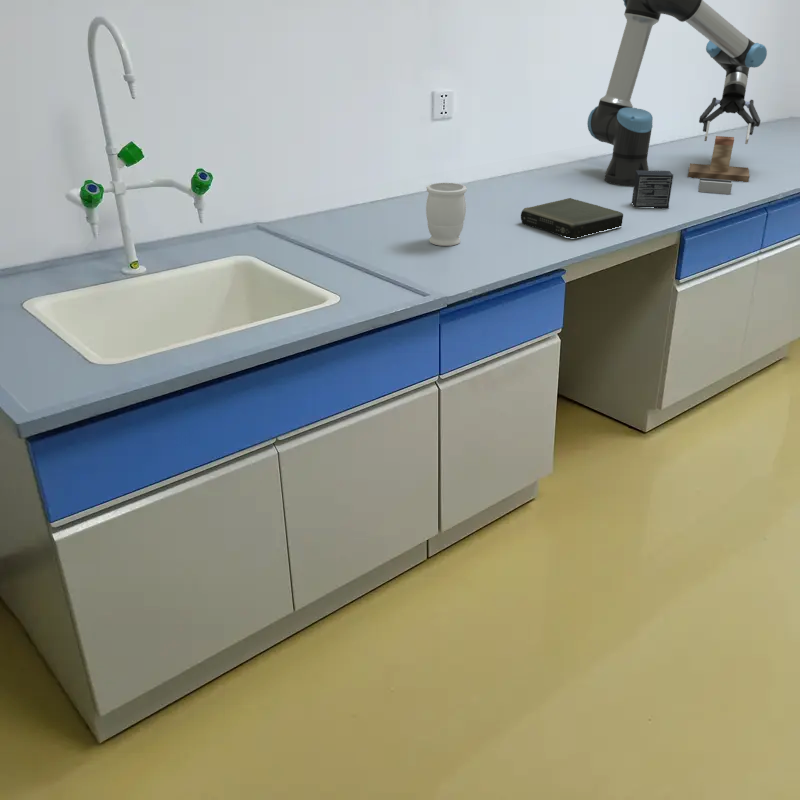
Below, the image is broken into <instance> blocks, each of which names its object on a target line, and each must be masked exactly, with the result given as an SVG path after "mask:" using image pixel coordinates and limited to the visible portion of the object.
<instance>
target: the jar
mask: <svg viewBox="0 0 800 800" xmlns="http://www.w3.org/2000/svg"><path fill="white" fill-rule="evenodd" d="M467 189H468V188H467V186H466V185H464V184H461V183H455V182H438V183H437V182H436V183H435V182H434V183H431V184H428V185H427V186H426V191H427V193H428V194H427V197H426V205H425V214H426V221H427V229H428V232H429V234H430V235H431V236H430V238H429V242H430V243H431V244H433V245H436V246H441V247H450V246H451V247H452V246H456V245H458V244H460V243H461V238H460V236H461V233H462V231H463V228H464V223H465V217H466V212H467V202H466V196H465V193H466V192H467Z"/></svg>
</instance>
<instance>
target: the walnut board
mask: <svg viewBox="0 0 800 800" xmlns="http://www.w3.org/2000/svg"><path fill="white" fill-rule="evenodd" d="M710 166H711V164H702V163H689V167H688V174H687V178H688V177H692V178H691V179H700V178H709V179H722V180H732V182H739V181H743V183H749V179H750V171H749V167H744V166H743V167H741V166H731V165H729V169H728V172H722V171H710Z"/></svg>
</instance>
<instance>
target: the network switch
mask: <svg viewBox="0 0 800 800" xmlns="http://www.w3.org/2000/svg"><path fill="white" fill-rule="evenodd" d="M623 218H624V213H623V212H621V211H618V210H614V209H611V208H608V207H604V206H600V205H597V204H593V203H589V202H586V201H582V200H579V199H574V198H572V197H570V198H564V199H560V200H556V201H551V202H547V203H543V204H542V203H541V204H538V205H533V206H530V207H524V208H523V209H522V211H521V212H520V220H521V223H522V224H523V225H525V224H526V226H528V225H529V227H532V226H533V227H532V228H536V229H540V230H543V231H547V232H550V233H553V234H555V235H558V234H559V236H561V235H562V236H566V237H570V238H577V237H581V236H584V235H588V234H592V233H596V232H599V231H604V230H607V229H612V228H615V227H619V226H623V220H624V219H623ZM562 236H561V237H562Z"/></svg>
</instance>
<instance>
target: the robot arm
mask: <svg viewBox="0 0 800 800" xmlns="http://www.w3.org/2000/svg"><path fill="white" fill-rule="evenodd" d="M622 1H623V5H624V6H625V11H624V14H623V15H624V17H625V19H626V23H625V27H624V31H623V34H622V38H621V41H620V44H619V47H618V50H617V55H616V57H615V58H616V59H615V62H614V65H613V68H612V71H611V74H610V75H611V76H610V78H609V79H610V80H609V82H608V87H607V88H606V89H607V90H606V93H605V95H604V96H603V97H601V98H600V99H599V101H598V105H597V106H595V107H594V108H593V109H592V110H591V111H590V112H589V114H588V118H587V123H586V124H587V129H588V132H589V134H590V135H591V137H592V138H594V139H595V140H597V141H599V142H602V143H607V144H610V145H612V146H613V149H612V155H611V159H610V162H609V164H608V165H607V168H606V171H605V172H604V176H603V177H604V182H607V183H608V184H612V185H616V186H622V187H623V186H625V187H634V181H635V173H636V170H643V171H650V170H649V164H648V156H649V155H648V154H649V147H650V141H651V135H652V130H653V129H652V128H653V127H654V126H653V125H654V124H653V122H654V121H653V114H652V113H651V112H650V111H648V110H646V109H644V108H643V109H642V108H637V107H634V105H633V103H632V102H631V99H632V95H633V92H634V88H635V86H636V82H637V78H638V76H639V71H640V69H641V68H640V67H641V65H642V62H643V59H644V57H645V56H644V55H645V52H646V48H647V46H648V41H649V38H650V36H651V31H652V29H653V27H654V26H655V25H656V24H657V23H659V21H660V18H661V15H667V16H671V17H673V18H675V19H676V20H678V21H679V22H682V23H684V22H686V23H687V24H688V25H690V26H691V27H693V29H694V30H696V31H697V32H698V33H700V34H701V35H702V36H703V37H705V38H706V39H708V42H707V43H706V47H705V51H706V53H707V54H708V55H709V56H710V58H712V60H714V61H715V62H716V63H717V64H718V65H719V66H720V67H721V68H722V69H723V70H725V78H724V84H723V90H722V96H721V99H717V98H716V97H713V98H712V100H711V103H710V104H709V105H708V106H707V108H706V109H705V110H704V111H703V113H701V114H700V116H699V118H698V123H700V124H701V123H702V124H703V128H702V132H703V133H705V135H704V142H707V141H708V140H707V139H708V135H709V129H710V124H711V123H712V121H713V120H715V119H716V118H718V116H720V115H722V114H724V113H725V114H730V113H731V114H736V113H737V114H738V116H740V117H741V119H743V121H744V122H746V124H747V125H748V126H747V129H746V134H745V135H746V137H745V142H744V144H745V145H748V143H749V140H750V139H749V138H750V136H753V133H754V129H755V127H760V124H761V119H760V117H759V115H758V112H757V110H756V107H755V105H754V102H755V101H754V99H750V100H748V101H746V100H745V97H746V89H747V87H748V86H747V85H748V80H749V79H748V78H749V77H748V76H749V72H750V68H758V67H760V66H762V64H764V62H765V60H766V58H767V55H768V50H767V47H766V46H765V45H764V44H761V43H759V42H753V41H752V40H751V39H750V38H748V37H747V36H746V35H745V34H743V33H742V31H740V30H739V29H738V28H736V27H735V26H734V25H733V24H732V23H731V22H729V21H728V20H727V19H726V18H725V17H723V16H722V15H721V14H719V12H717V11H716V10H715V9H714V8H713V7H712V6H711V5H709V4H708V3H707V2H705V1H704V0H622ZM718 105H719V107H718V108H717V109H715V110H714V108H716V107H717V106H718ZM745 106H746V108H747V109H748V112H749V113H750V114H749V113H748V112H747V110H746V109H745ZM713 110H714V111H713ZM712 111H713V112H712ZM711 112H712V113H711Z"/></svg>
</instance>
